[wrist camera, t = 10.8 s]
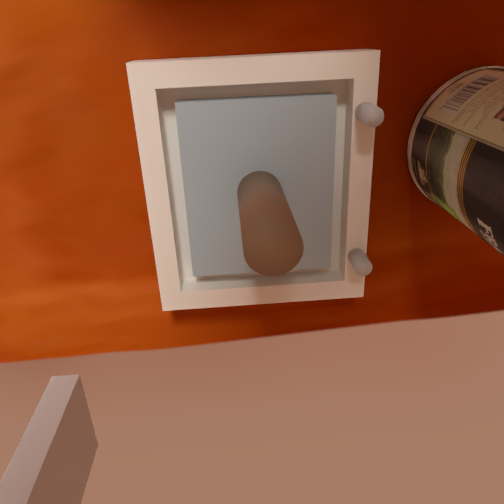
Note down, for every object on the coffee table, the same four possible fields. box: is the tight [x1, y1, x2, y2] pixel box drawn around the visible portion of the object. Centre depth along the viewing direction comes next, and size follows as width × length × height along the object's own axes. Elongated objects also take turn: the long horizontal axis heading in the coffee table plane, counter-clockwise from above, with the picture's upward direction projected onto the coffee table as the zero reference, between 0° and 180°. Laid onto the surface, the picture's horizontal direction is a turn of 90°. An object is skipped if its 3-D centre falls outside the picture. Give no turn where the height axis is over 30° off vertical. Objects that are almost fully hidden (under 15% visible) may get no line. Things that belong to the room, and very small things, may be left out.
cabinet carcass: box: [126, 49, 384, 311], centre depth 31 cm, size 17×15×5 cm
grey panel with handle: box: [175, 92, 337, 276], centre depth 28 cm, size 12×10×11 cm
